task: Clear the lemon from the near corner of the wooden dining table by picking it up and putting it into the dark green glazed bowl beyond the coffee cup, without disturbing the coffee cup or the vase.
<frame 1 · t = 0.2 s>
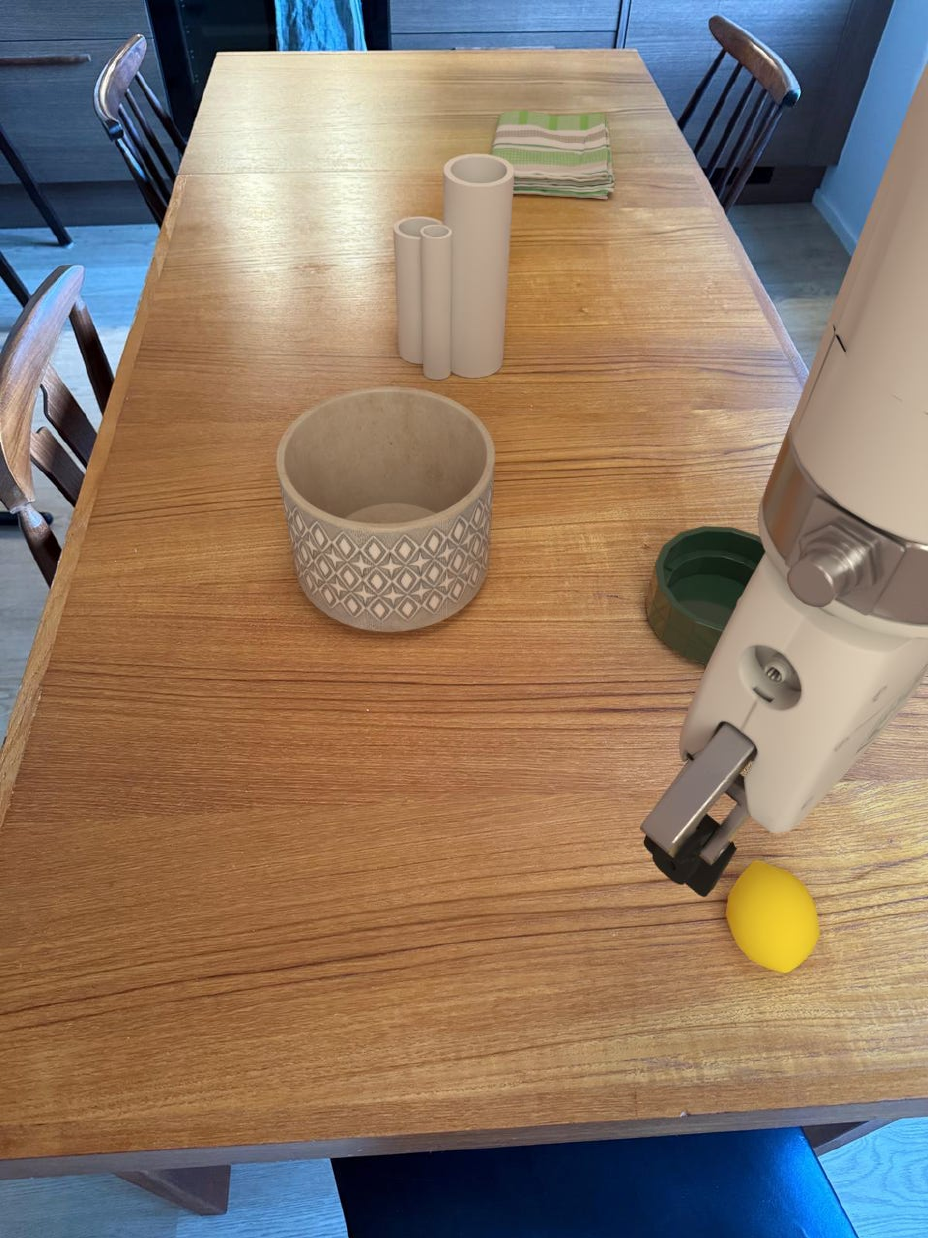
hand: (746, 794, 39), 22 cm above the table, tool pointing down, fingers open, 9 cm apart
vase: (450, 361, 96), on the table
lemon: (758, 932, 58), on the table
coffee cup: (777, 736, 67), on the table
planter: (393, 568, 77), on the table
bowl: (713, 617, 74), on the table
dish towel: (550, 162, 127), on the table
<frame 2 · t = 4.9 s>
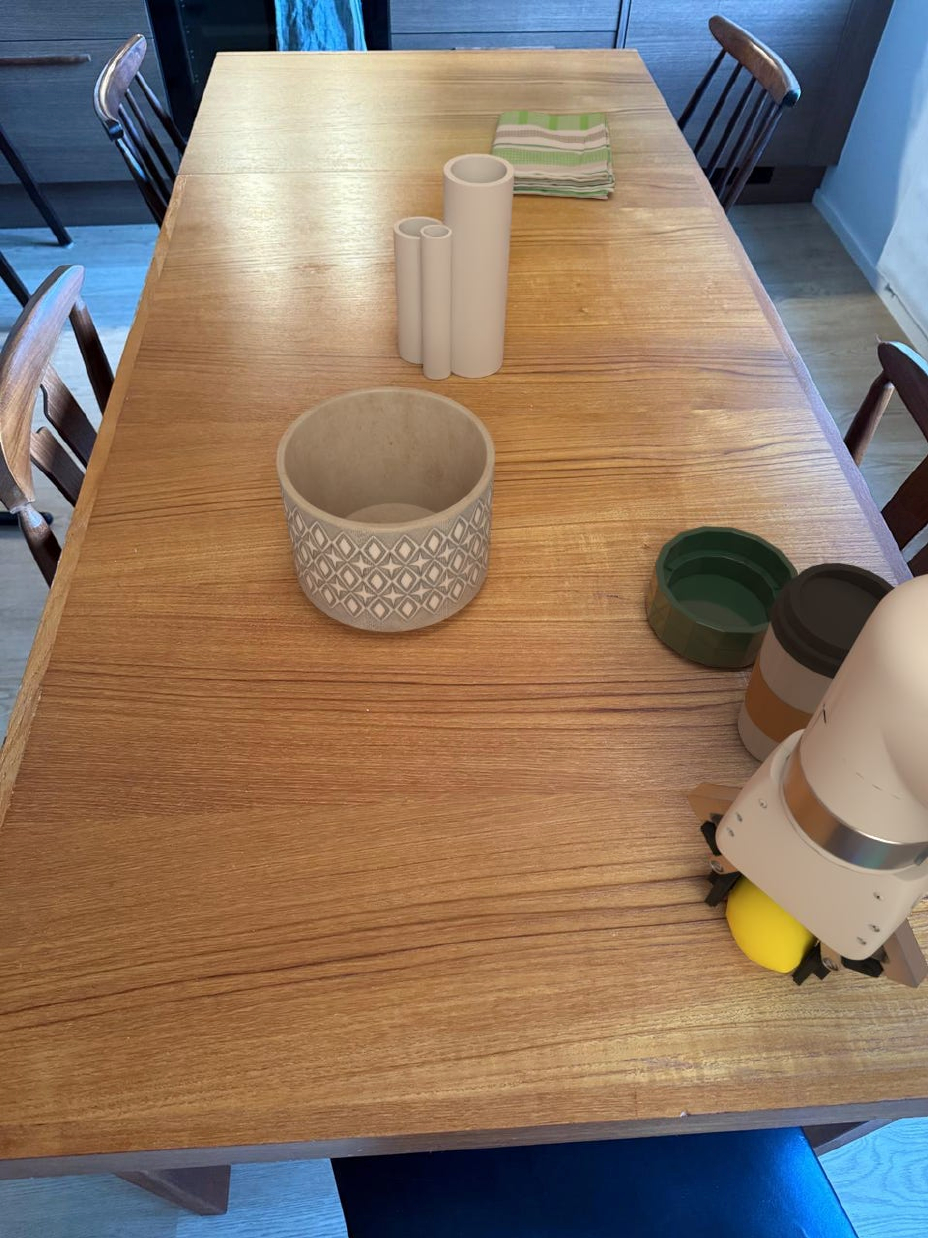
hand: (764, 926, 57), 1 cm above the table, tool pointing down, fingers closed on lemon, 5 cm apart
lemon: (758, 931, 58), on the table, touching gripper
everything else where it was.
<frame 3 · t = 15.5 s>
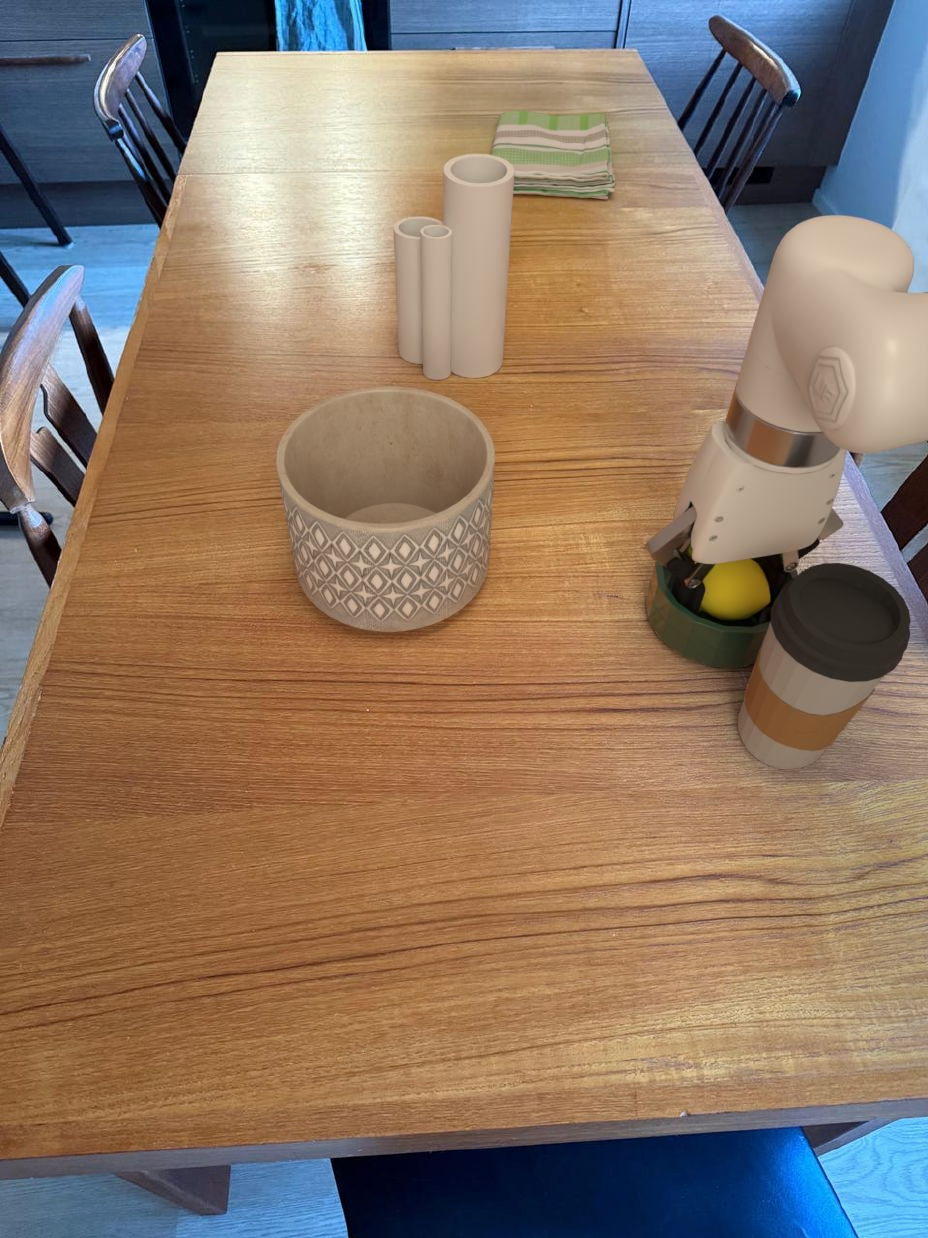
hand: (722, 600, 72), 3 cm above the table, tool pointing down, fingers closed on lemon, 5 cm apart
lemon: (717, 609, 73), point 1 cm above the table, touching gripper
everything else where it was.
when the fingers open (5 cm above the table, at t = 34.2 s): lemon drops 4 cm, resting on bowl.
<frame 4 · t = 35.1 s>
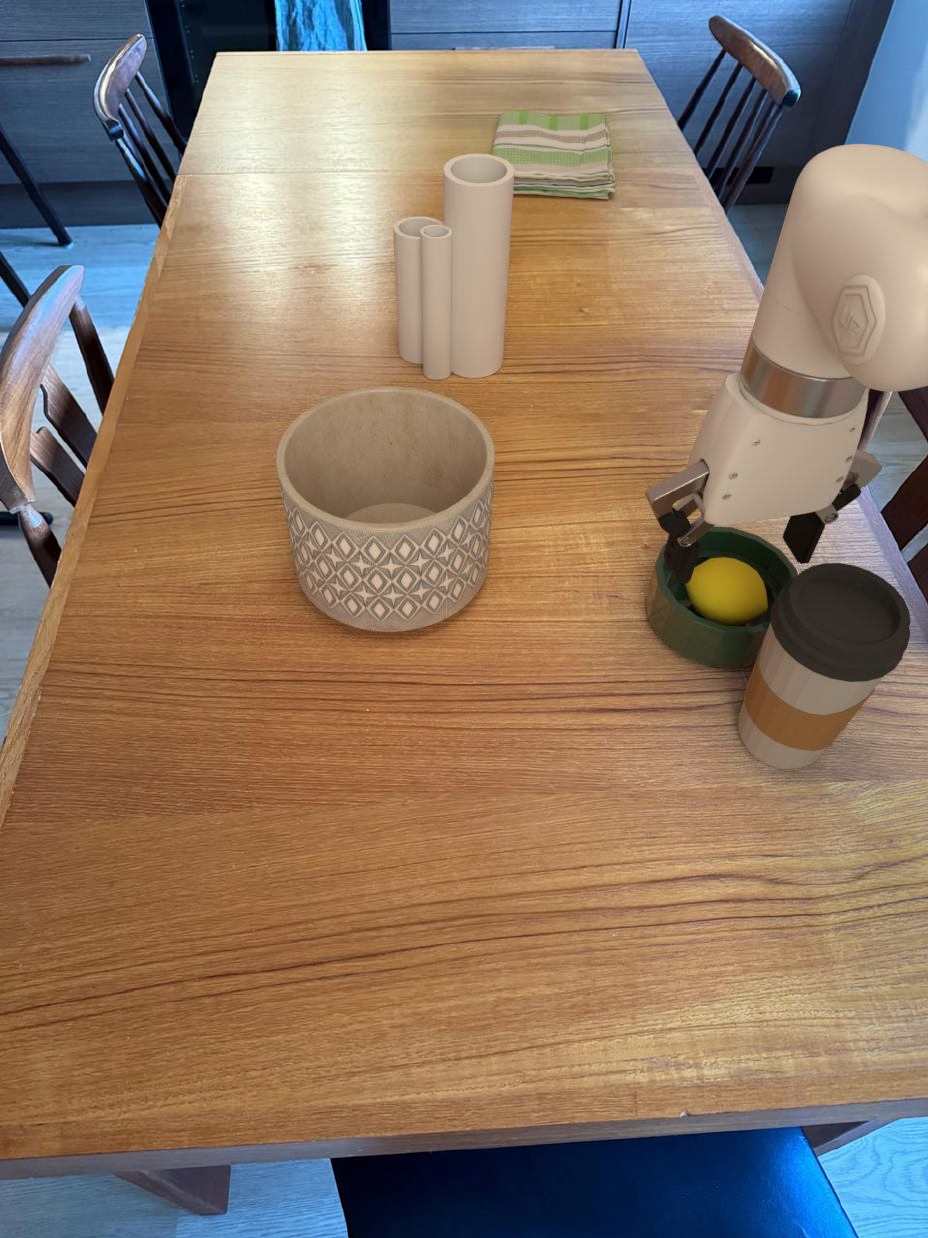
hand: (736, 560, 68), 7 cm above the table, tool pointing down, fingers open, 9 cm apart
lemon: (716, 614, 74), resting on bowl
everything else where it was.
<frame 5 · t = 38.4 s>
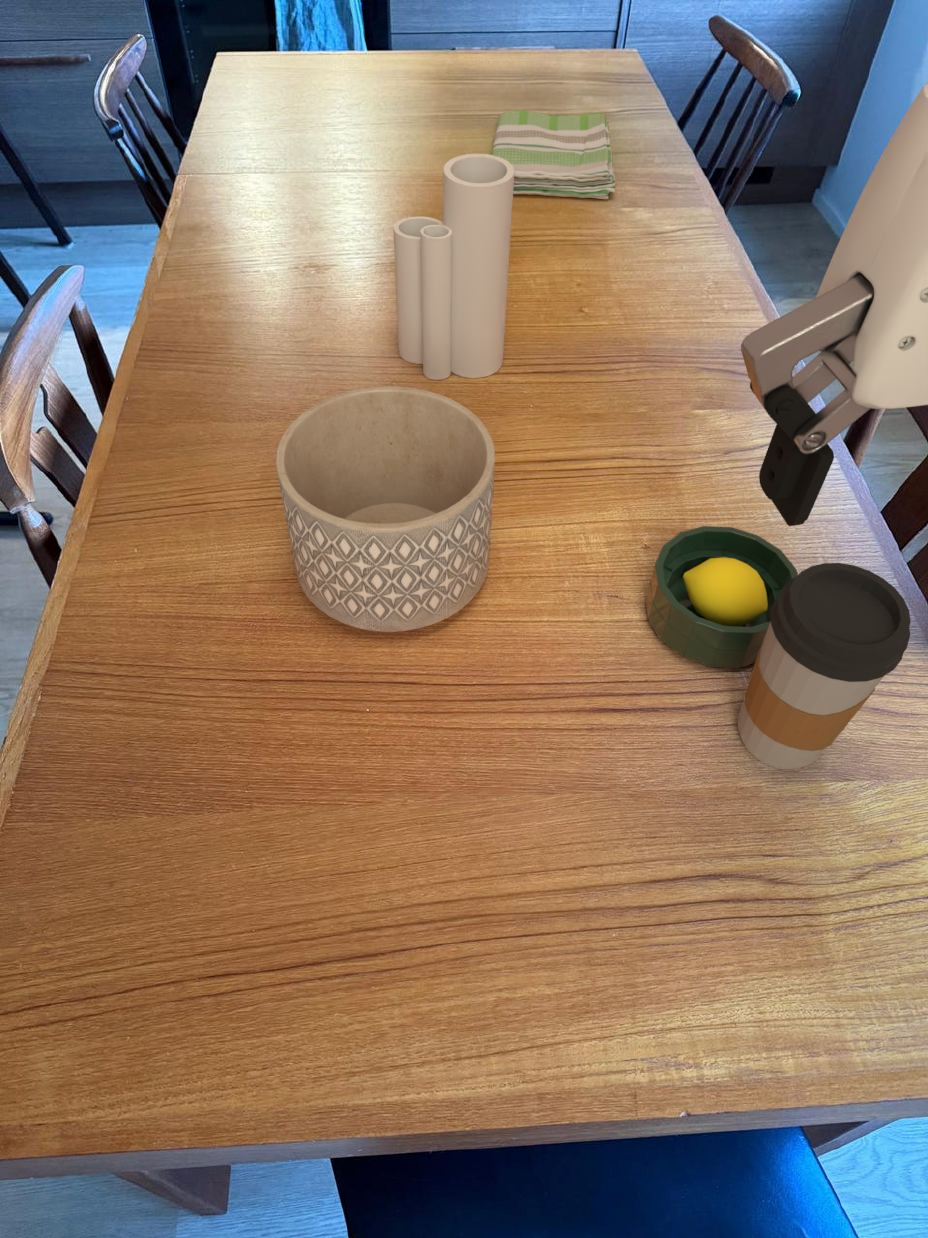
hand: (881, 487, 39), 30 cm above the table, tool pointing down, fingers open, 9 cm apart
nothing on the table moved.
at the end: lemon inside the target area in the bowl (0.2 cm from its centre), point 0.4 cm above the bowl's base; the gripper is holding nothing; vase moved 0.2 cm from its start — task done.
